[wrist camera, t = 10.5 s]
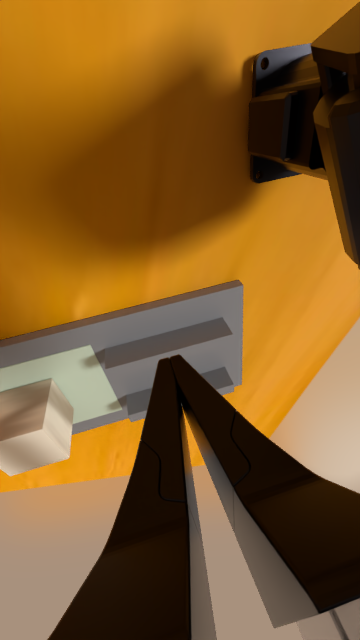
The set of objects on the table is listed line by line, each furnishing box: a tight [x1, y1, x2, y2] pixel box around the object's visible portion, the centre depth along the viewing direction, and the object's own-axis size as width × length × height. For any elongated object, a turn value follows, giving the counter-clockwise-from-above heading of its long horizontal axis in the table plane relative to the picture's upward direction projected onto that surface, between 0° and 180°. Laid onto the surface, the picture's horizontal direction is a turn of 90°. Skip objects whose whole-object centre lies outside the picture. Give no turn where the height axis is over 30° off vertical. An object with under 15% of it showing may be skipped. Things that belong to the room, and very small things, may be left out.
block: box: [0, 378, 74, 476], centre depth 23 cm, size 5×5×5 cm
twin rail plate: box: [0, 280, 243, 435], centre depth 25 cm, size 23×14×4 cm, turn 98°
